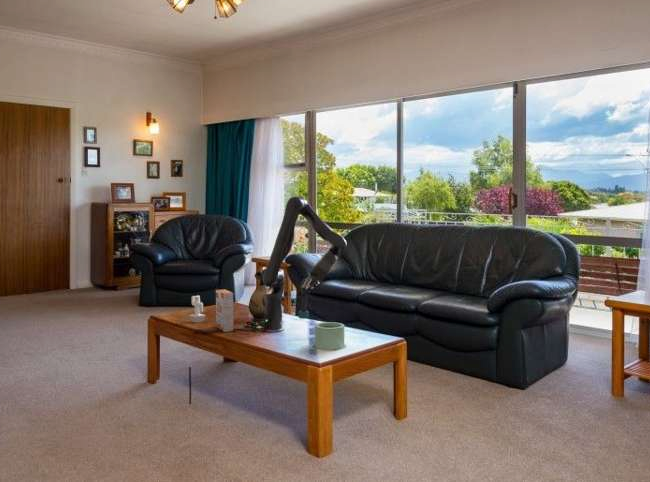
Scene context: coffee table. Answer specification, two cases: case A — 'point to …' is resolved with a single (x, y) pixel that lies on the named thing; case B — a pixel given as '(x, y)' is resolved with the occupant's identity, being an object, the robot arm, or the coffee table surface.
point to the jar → (329, 335)
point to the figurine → (197, 310)
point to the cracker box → (224, 310)
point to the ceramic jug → (258, 299)
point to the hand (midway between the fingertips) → (300, 295)
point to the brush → (303, 306)
